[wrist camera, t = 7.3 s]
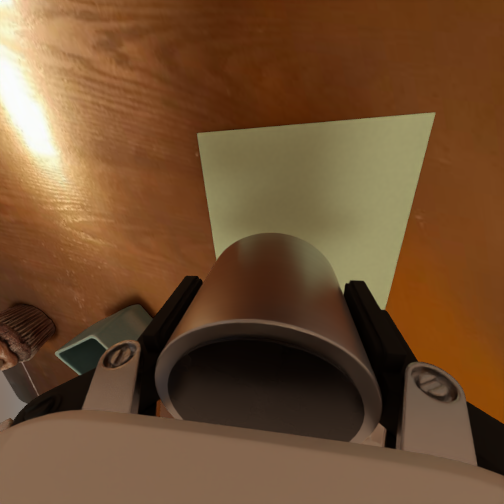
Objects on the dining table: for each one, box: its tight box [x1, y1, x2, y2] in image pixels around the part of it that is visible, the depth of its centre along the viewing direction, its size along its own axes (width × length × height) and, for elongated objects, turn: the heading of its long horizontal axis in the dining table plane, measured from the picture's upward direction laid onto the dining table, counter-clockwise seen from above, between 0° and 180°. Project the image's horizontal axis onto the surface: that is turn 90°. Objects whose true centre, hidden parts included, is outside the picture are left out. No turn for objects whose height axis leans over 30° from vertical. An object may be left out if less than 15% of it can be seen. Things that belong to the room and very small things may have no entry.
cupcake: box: [0, 304, 55, 370], centre depth 36 cm, size 10×10×10 cm
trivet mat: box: [197, 112, 435, 310], centre depth 25 cm, size 22×22×1 cm
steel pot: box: [154, 233, 382, 444], centre depth 9 cm, size 7×7×6 cm
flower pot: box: [55, 304, 153, 375], centre depth 32 cm, size 9×9×9 cm
